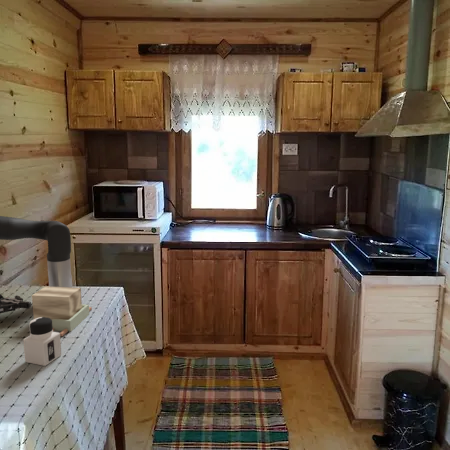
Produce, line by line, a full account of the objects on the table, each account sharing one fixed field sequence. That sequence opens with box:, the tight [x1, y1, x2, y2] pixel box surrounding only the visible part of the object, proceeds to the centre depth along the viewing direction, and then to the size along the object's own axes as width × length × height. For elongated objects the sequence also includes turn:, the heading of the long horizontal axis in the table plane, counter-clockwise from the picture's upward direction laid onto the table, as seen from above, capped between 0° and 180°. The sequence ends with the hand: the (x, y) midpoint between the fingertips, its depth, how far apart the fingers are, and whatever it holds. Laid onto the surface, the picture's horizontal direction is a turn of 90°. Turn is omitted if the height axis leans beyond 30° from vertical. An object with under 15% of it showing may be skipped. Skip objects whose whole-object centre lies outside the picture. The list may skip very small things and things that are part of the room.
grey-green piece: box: [52, 303, 93, 338], centre depth 168 cm, size 25×7×4 cm, turn 173°
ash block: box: [31, 285, 83, 320], centre depth 168 cm, size 10×14×12 cm
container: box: [23, 317, 62, 367], centre depth 140 cm, size 8×8×13 cm
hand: (30, 305), depth 169 cm, fingers closed
